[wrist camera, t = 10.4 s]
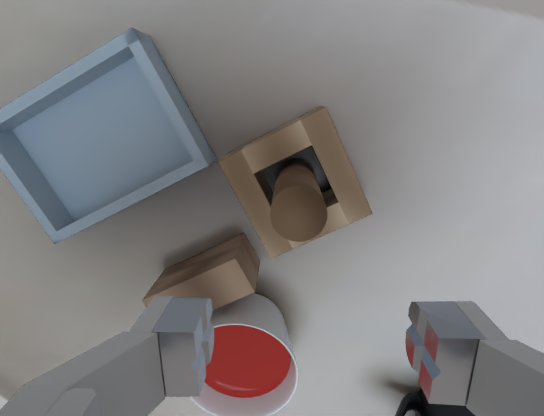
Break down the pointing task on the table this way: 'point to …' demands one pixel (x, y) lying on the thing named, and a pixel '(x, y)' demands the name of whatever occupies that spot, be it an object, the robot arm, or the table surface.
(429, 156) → the table surface
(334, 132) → the socket block
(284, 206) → the dowel
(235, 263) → the block
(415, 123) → the table surface
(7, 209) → the table surface
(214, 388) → the candle
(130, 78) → the tray
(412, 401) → the mug
